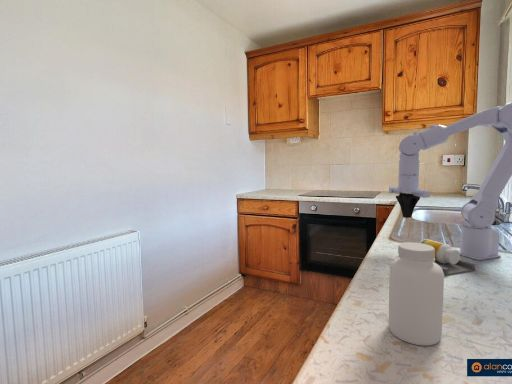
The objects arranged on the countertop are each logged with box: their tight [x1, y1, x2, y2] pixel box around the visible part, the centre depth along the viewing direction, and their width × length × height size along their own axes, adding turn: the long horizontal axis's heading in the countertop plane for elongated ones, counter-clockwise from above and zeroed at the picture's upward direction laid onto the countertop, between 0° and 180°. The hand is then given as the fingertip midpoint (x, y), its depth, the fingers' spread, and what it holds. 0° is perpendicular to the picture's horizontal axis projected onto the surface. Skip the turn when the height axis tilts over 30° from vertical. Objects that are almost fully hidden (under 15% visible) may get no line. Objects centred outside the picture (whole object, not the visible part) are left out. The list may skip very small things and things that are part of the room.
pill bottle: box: [387, 241, 445, 347], centre depth 50 cm, size 8×8×15 cm
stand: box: [434, 259, 476, 277], centre depth 81 cm, size 10×11×2 cm
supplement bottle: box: [419, 238, 461, 264], centre depth 84 cm, size 5×5×10 cm
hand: (407, 217), depth 96 cm, fingers closed
